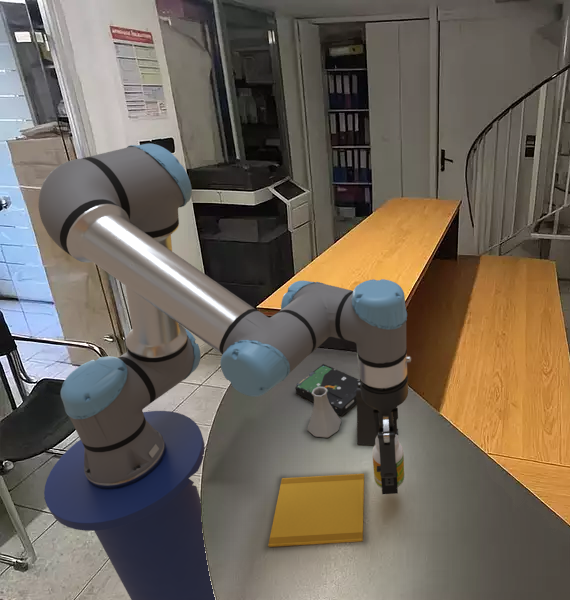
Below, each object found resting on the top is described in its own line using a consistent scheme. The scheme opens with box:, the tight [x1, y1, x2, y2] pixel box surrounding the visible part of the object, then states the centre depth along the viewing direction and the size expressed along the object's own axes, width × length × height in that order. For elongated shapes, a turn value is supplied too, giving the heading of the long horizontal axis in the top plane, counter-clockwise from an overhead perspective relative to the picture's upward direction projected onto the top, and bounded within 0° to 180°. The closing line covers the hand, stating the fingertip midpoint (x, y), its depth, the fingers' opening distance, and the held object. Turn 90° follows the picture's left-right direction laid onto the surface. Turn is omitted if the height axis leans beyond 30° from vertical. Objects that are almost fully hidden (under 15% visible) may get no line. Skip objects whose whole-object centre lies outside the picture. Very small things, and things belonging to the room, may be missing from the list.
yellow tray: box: [268, 473, 365, 548], centre depth 88 cm, size 16×14×1 cm
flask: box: [306, 387, 342, 438], centre depth 104 cm, size 7×7×10 cm
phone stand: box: [356, 385, 380, 446], centre depth 102 cm, size 9×6×12 cm, turn 174°
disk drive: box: [295, 363, 360, 416], centre depth 116 cm, size 10×3×15 cm
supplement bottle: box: [371, 435, 405, 489], centre depth 84 cm, size 5×5×10 cm
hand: (389, 477), depth 87 cm, fingers closed on supplement bottle, 5 cm apart
